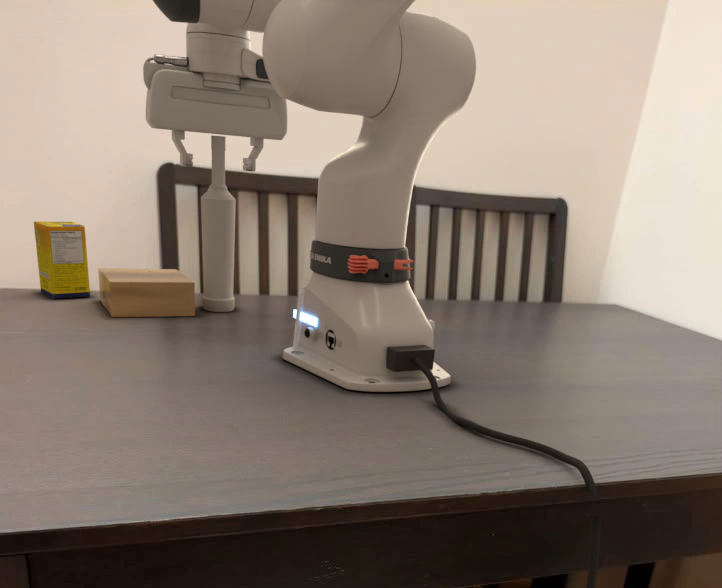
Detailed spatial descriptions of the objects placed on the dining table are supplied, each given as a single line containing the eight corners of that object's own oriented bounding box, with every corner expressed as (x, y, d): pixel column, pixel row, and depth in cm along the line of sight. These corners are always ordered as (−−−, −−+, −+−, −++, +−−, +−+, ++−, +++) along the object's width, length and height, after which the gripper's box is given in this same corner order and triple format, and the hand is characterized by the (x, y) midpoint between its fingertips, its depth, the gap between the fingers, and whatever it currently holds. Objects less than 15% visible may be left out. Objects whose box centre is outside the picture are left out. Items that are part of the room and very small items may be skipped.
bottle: (200, 305, 117) (198, 134, 107) (232, 306, 119) (233, 137, 109) (203, 312, 113) (202, 134, 103) (237, 312, 114) (238, 137, 104)
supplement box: (76, 290, 120) (71, 220, 116) (91, 297, 116) (85, 225, 112) (39, 292, 116) (32, 220, 112) (52, 299, 112) (46, 225, 108)
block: (195, 316, 110) (194, 282, 108) (112, 317, 105) (109, 281, 103) (177, 300, 119) (176, 269, 117) (100, 300, 114) (98, 268, 112)
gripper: (147, 50, 95) (150, 164, 101) (293, 70, 104) (289, 175, 109) (138, 53, 100) (142, 162, 106) (278, 72, 109) (275, 172, 115)
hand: (218, 169), depth 108 cm, fingers open, 8 cm apart
